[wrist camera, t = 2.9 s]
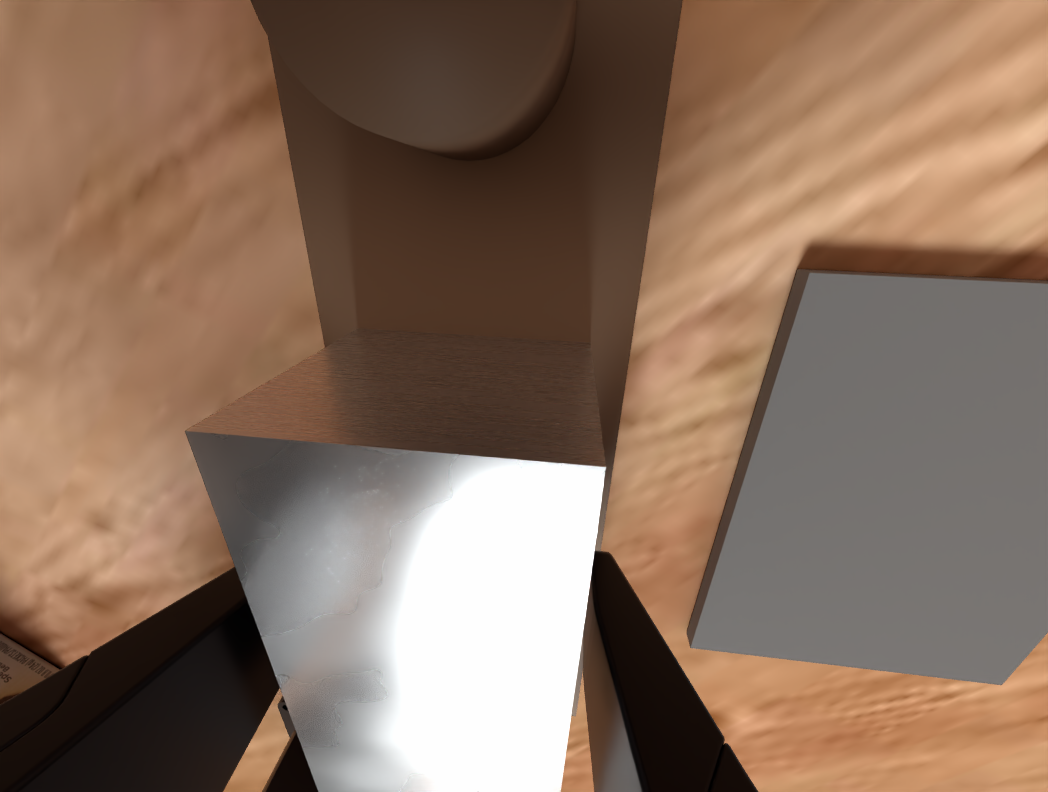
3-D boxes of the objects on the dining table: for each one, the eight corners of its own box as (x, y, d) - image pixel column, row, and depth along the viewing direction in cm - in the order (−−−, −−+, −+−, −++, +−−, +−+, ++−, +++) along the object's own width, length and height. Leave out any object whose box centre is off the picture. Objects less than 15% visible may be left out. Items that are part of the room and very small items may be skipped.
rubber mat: (986, 668, 16) (1001, 684, 15) (686, 633, 16) (690, 647, 16) (1296, 292, 10) (1341, 297, 9) (797, 269, 10) (809, 272, 10)
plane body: (574, 602, 16) (576, 826, 11) (427, 586, 17) (350, 790, 11) (648, 5, 9) (810, -410, 3) (371, 6, 9) (7, -345, 3)
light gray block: (560, 627, 11) (554, 831, 8) (398, 608, 11) (319, 794, 8) (590, 342, 8) (605, 466, 4) (357, 328, 8) (184, 431, 4)
